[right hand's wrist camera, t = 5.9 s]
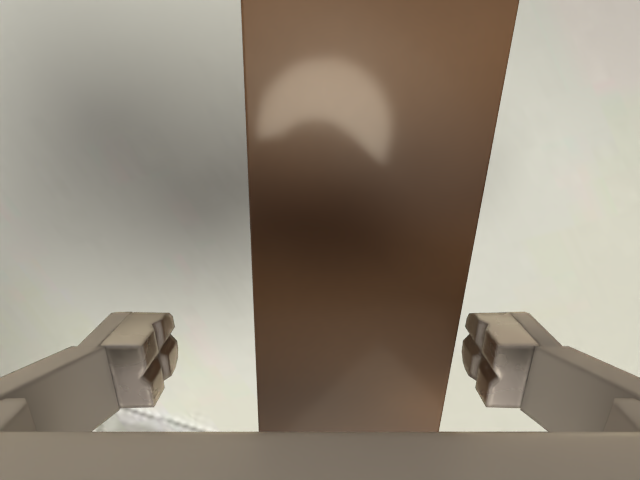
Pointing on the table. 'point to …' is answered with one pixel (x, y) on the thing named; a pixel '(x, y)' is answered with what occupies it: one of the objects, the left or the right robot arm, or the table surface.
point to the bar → (365, 200)
